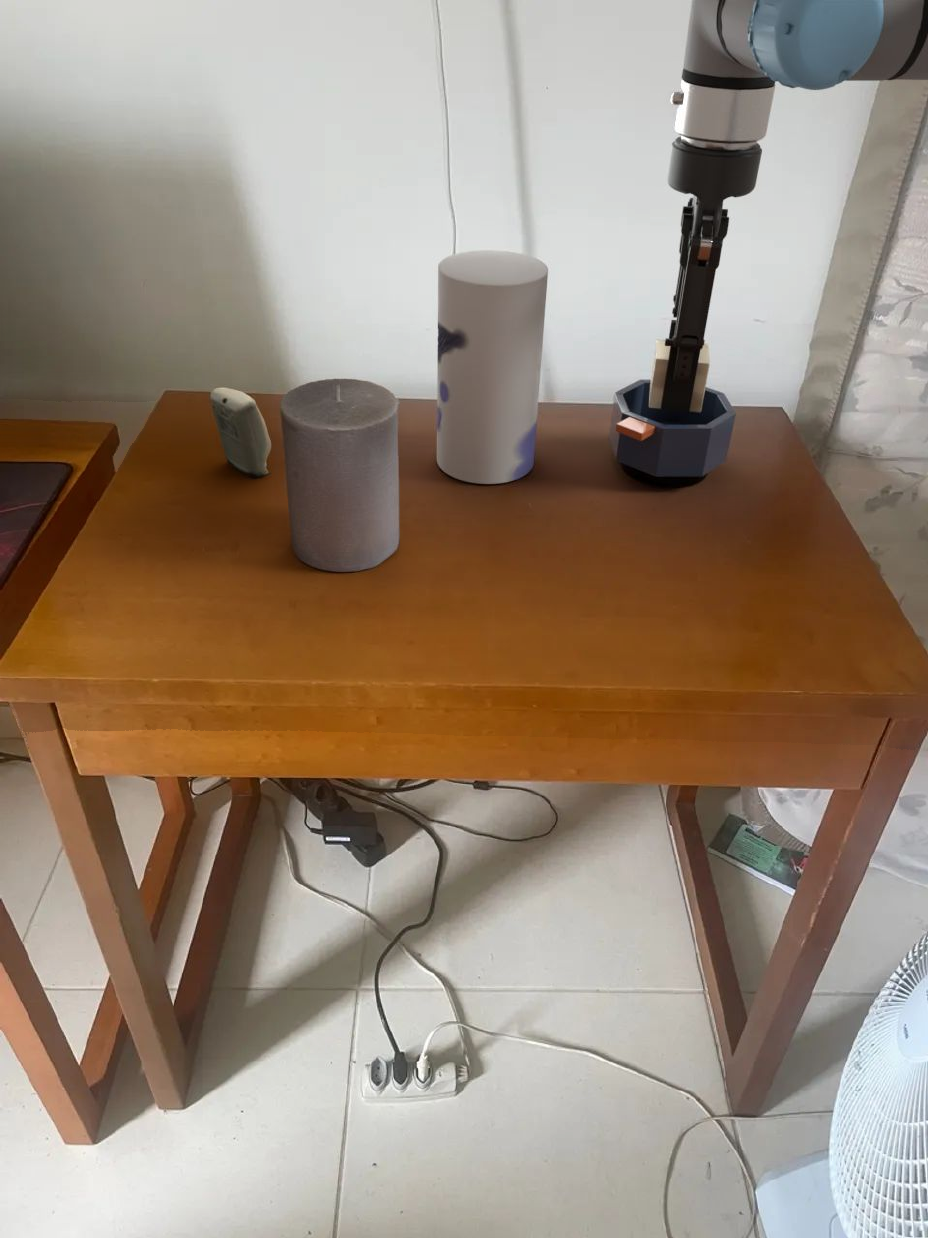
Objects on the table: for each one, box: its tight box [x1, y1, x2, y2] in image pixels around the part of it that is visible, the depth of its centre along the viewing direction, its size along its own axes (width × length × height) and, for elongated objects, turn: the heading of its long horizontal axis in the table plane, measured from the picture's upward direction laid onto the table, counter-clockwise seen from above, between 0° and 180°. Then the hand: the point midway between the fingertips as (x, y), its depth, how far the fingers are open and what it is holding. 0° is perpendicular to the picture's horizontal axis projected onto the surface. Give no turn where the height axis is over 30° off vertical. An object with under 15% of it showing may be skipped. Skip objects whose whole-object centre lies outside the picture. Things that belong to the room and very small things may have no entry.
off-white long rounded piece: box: [209, 387, 272, 479], centre depth 97 cm, size 6×5×8 cm
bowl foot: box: [619, 462, 709, 489], centre depth 101 cm, size 9×9×2 cm
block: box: [649, 338, 711, 412], centre depth 95 cm, size 5×5×5 cm
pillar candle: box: [279, 378, 401, 573], centre depth 84 cm, size 10×10×15 cm
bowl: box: [608, 379, 737, 477], centre depth 98 cm, size 13×11×5 cm
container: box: [436, 249, 549, 485], centre depth 95 cm, size 10×10×20 cm
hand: (675, 396), depth 97 cm, fingers closed on block, 5 cm apart
